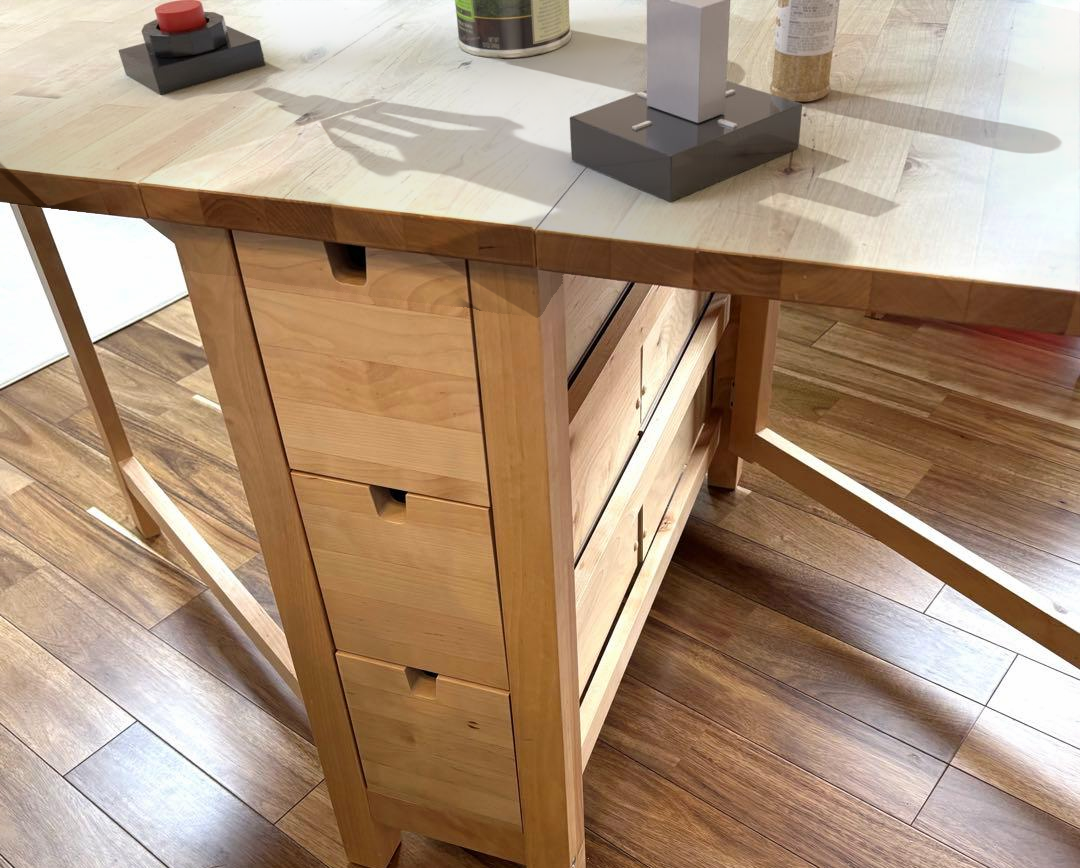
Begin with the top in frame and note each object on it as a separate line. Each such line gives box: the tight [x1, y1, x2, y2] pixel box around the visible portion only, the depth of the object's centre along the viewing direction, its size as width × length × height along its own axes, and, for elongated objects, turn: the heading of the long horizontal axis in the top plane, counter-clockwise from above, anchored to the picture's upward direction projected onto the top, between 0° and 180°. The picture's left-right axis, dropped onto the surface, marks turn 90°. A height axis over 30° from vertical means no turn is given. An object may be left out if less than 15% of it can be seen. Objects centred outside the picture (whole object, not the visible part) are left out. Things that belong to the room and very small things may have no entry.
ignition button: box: [154, 0, 207, 32], centre depth 91 cm, size 4×4×2 cm
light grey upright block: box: [646, 0, 731, 123], centre depth 68 cm, size 5×2×7 cm, turn 38°
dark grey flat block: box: [569, 80, 803, 203], centre depth 71 cm, size 12×10×3 cm
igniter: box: [117, 11, 266, 96], centre depth 93 cm, size 10×8×4 cm
